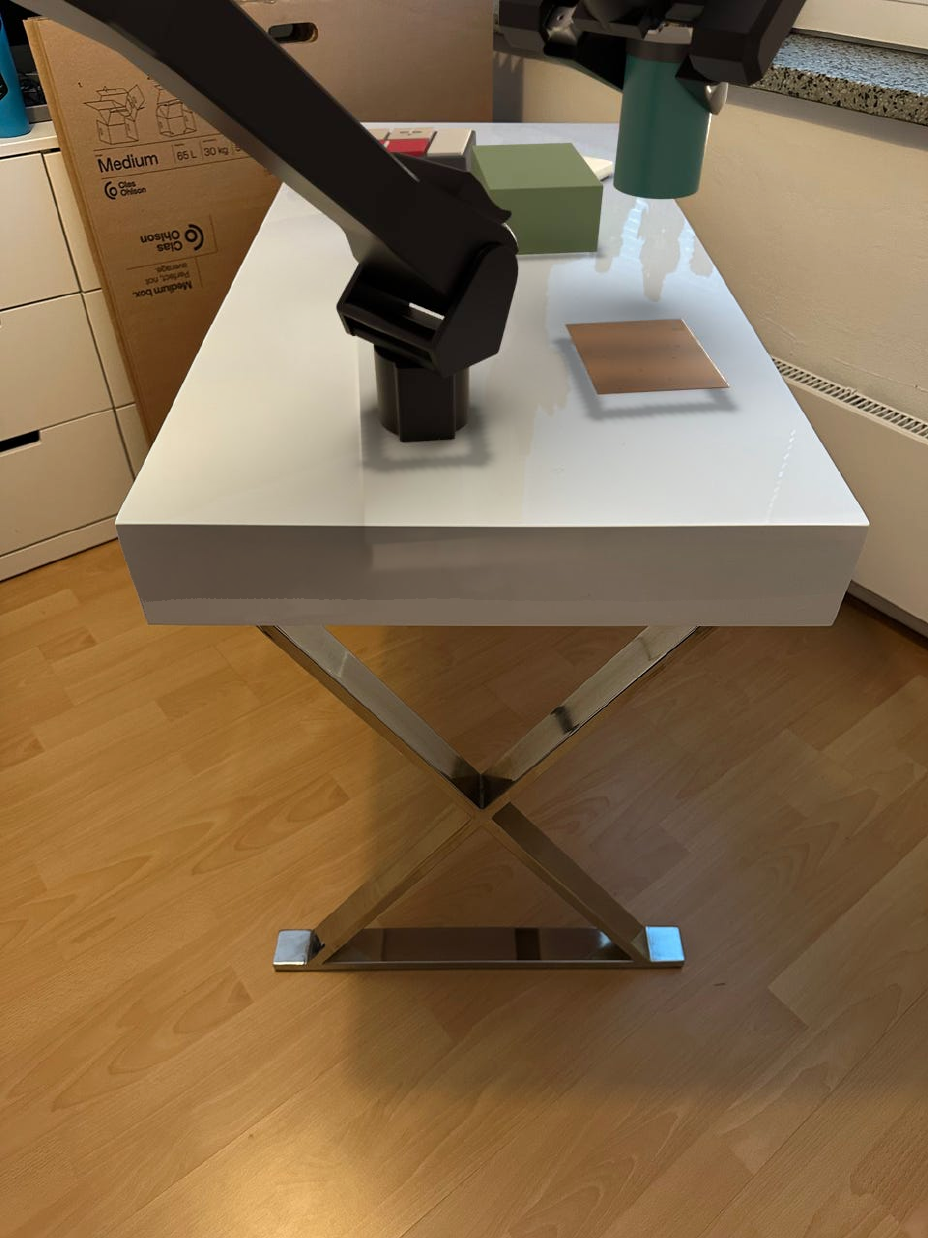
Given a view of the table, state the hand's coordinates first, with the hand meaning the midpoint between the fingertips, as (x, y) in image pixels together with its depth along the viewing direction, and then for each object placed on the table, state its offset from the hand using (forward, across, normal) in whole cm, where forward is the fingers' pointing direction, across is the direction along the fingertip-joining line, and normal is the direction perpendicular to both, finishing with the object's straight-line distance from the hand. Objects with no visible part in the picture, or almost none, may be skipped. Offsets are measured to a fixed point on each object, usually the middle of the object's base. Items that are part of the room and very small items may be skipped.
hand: (678, 100), depth 59 cm
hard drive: (+27, +28, -5) cm, 39 cm away
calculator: (+20, +41, +2) cm, 46 cm away
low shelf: (+5, -5, +16) cm, 18 cm away
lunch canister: (+3, 0, +5) cm, 5 cm away
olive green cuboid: (+17, +20, +4) cm, 27 cm away
